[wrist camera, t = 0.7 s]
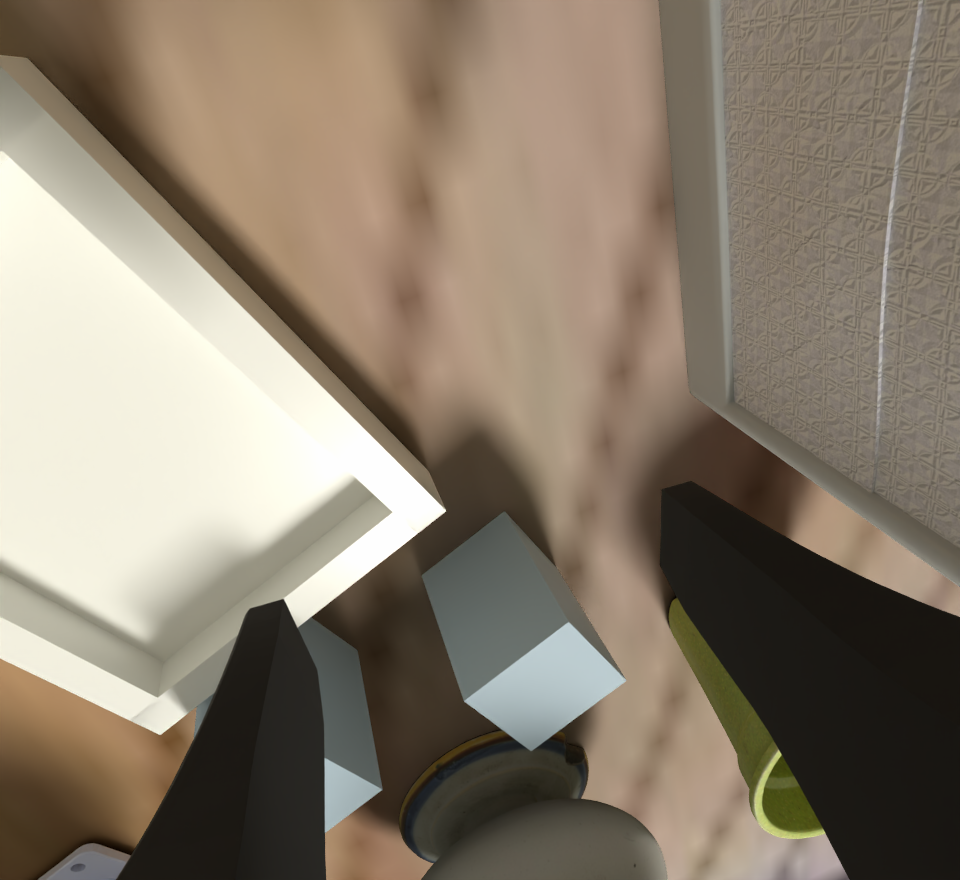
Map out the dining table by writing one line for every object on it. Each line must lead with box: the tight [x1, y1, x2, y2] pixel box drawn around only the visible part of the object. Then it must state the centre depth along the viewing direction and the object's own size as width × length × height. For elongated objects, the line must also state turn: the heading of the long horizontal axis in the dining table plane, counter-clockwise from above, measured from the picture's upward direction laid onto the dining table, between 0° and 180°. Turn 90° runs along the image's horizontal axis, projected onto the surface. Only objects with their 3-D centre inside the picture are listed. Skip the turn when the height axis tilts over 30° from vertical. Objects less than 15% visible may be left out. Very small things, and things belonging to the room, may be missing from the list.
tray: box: [0, 55, 446, 735], centre depth 18 cm, size 12×15×2 cm
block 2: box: [422, 511, 626, 751], centre depth 23 cm, size 4×4×6 cm
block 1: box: [194, 617, 383, 833], centre depth 22 cm, size 4×4×6 cm
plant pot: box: [669, 598, 825, 839], centre depth 27 cm, size 9×9×9 cm
